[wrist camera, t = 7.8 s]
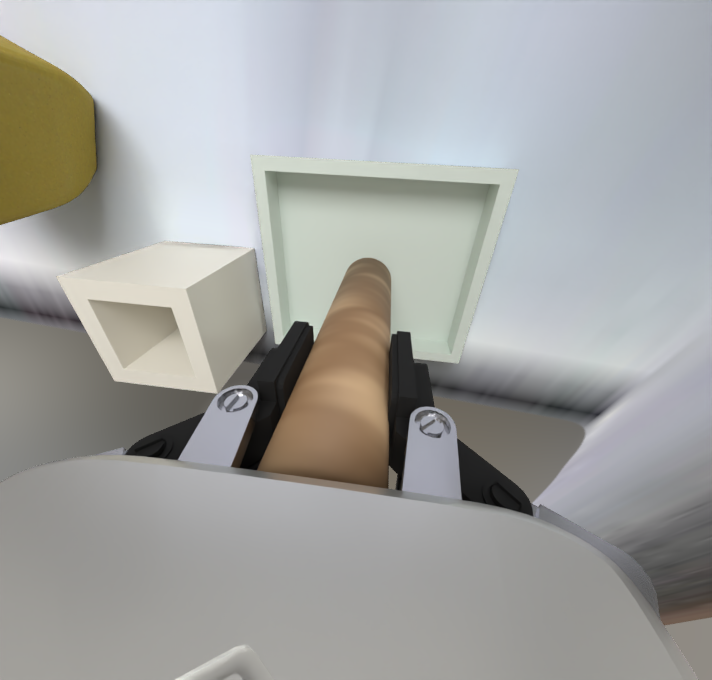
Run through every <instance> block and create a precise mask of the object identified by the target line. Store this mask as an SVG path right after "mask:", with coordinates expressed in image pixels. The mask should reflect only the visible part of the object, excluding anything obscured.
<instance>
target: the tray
mask: <svg viewBox="0 0 712 680" xmlns="http://www.w3.org/2000/svg"><path fill="white" fill-rule="evenodd" d="M250 157H251V164H252V172H253V179H254V187H255V194H256V201H257V209H258V216H259V224H260V231H261V239H262V246H263V254H264V261H265V269H266V276H267V284H268V291H269V299H270V306H271V314H272V321H273V329H274V336H275V344H281V342H282V340H283V339H284V337H285V336H286V334H287V333H288V331H289V329H290V328H291V326H292V325H293V323H294V322H295V321H302V322H308V323H309V326H313V332H314V342H315V340H316V338H317V336H318V333H319V331H320V329H321V327H322V324H323V322H324V320H325V318H326V316H327V313H328V311H329V309H330V307H331V305H332V302H333V300H334V298H335V296H336V293H337V291H338V289H339V287H340V285H341V282H342V280H343V278H344V276H345V273H346V271H347V269H348V268H349V266H350V265H351V264H352V263H353V262H355V261H356V260H358V259H361V258H374V259H377V260H379V261H381V262H382V263H383V264H384V265H385V266H386V267H387V268H388V270H389V272H390V275H391V333H390V343H391V336H392V334H397V331H404V332H410V333H411V342H412V352H413V359H422V360H431V361H440V362H450V363H459V361H460V357H461V354H462V351H463V348H464V345H465V341H466V338H467V335H468V332H469V328H470V325H471V322H472V319H473V316H474V312H475V309H476V306H477V303H478V300H479V296H480V293H481V290H482V287H483V284H484V280H485V277H486V274H487V271H488V268H489V264H490V261H491V258H492V255H493V252H494V248H495V245H496V242H497V239H498V236H499V232H500V229H501V226H502V223H503V219H504V216H505V213H506V210H507V207H508V203H509V200H510V197H511V194H512V191H513V187H514V184H515V181H516V178H517V175H518V171H519V169H501V168H483V167H465V166H446V165H428V164H410V163H392V162H374V161H355V160H337V159H319V158H301V157H283V156H264V155H250Z"/></svg>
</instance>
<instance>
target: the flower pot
mask: <svg viewBox="0 0 712 680" xmlns="http://www.w3.org/2000/svg"><path fill="white" fill-rule="evenodd" d="M96 169H97V163H96V145H95V121H94V103H93V99H92V97H91V95H90V94H89V93H88V91H87V90H86V89H85V88H84V87H83V86H82V85H81V84H80V83H78V82H77V81H76V80H75V79H74V78H72V77H71V76H70V75H68V74H67V73H65V72H64V71H62V70H61V69H59V68H57V67H56V66H54V65H52V64H50V63H49V62H47V61H45V60H43V59H41V58H39V57H38V56H36V55H34V54H32V53H30V52H29V51H27V50H25V49H23V48H22V47H20V46H18V45H16V44H14V43H13V42H11V41H9V40H7V39H6V38H4V37H2V36H0V225H2V224H5V223H8V222H12V221H15V220H18V219H22V218H25V217H28V216H31V215H34V214H38V213H41V212H44V211H47V210H50V209H53V208H56V207H59V206H61V205H64V204H66V203H68V202H70V201H71V200H73V199H74V198H76V197H77V196H79V195H80V194H81V193H82V192H83V191H84V190H85V188H86V187H87V186H88V184H89V183H90V181H91V179H92V178H93V175H94V173H95V172H96Z"/></svg>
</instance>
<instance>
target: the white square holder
mask: <svg viewBox="0 0 712 680" xmlns="http://www.w3.org/2000/svg"><path fill="white" fill-rule="evenodd" d="M56 277H57V279H58V281H59V283H60V285H61V286H62V288H63V290H64V292H65V293H66V295H67V297H68V299H69V301H70V302H71V304H72V306H73V308H74V309H75V311H76V313H77V315H78V317H79V318H80V320H81V322H82V324H83V326H84V327H85V329H86V331H87V333H88V334H89V336H90V338H91V340H92V342H93V343H94V345H95V347H96V349H97V350H98V352H99V354H100V356H101V357H102V359H103V361H104V363H105V364H106V367H107V368H108V370H109V372H110V374H111V375H112V377H113V379H114V381H120V382H127V383H135V384H144V385H152V386H160V387H169V388H176V389H184V390H193V391H200V392H209V393H217V394H218V393H219V391H220V390H221V389H222V388H223V386H224V385H225V384H226V382H227V381H228V380H229V378H230V377H231V376H232V375H233V373H234V372H235V371H236V370H237V368H238V367H239V366H240V364H241V363H242V362H243V361H244V359H245V358H246V357H247V355H248V354H249V353H250V351H251V350H252V349H253V348H254V346H255V345H256V344H257V342H258V341H259V340H260V339H261V337H262V336H263V335H264V333H265V332H266V331H267V329H266V322H265V316H264V309H263V302H262V295H261V289H260V282H259V275H258V269H257V262H256V255H255V249H254V248H246V247H233V246H221V245H209V244H196V243H184V242H172V241H163V242H159V243H156V244H153V245H150V246H147V247H144V248H141V249H138V250H135V251H132V252H129V253H126V254H123V255H120V256H117V257H114V258H111V259H108V260H105V261H102V262H99V263H96V264H93V265H90V266H87V267H84V268H81V269H78V270H75V271H71V272H68V273H65V274H62V275H59V276H56Z"/></svg>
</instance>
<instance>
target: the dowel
mask: <svg viewBox="0 0 712 680" xmlns="http://www.w3.org/2000/svg"><path fill="white" fill-rule="evenodd" d="M390 333H391V275H390V272H389V270H388V268H387V267H386V266H385V265H384V264H383V263H382V262H381V261H379V260H377V259H374V258H361V259H358V260H356V261H355V262H353V263H352V264H351V265H350V266H349V268H348V269H347V271H346V273H345V276H344V278H343V280H342V282H341V285H340V287H339V289H338V291H337V293H336V296H335V298H334V300H333V302H332V305H331V307H330V309H329V311H328V313H327V316H326V318H325V320H324V322H323V324H322V327H321V329H320V331H319V333H318V336H317V338H316V340H315V342H314V344H313V347H312V349H311V351H310V353H309V356H308V358H307V360H306V362H305V364H304V367H303V369H302V371H301V373H300V376H299V378H298V380H297V382H296V384H295V387H294V389H293V391H292V393H291V396H290V398H289V400H288V402H287V404H286V407H285V409H284V411H283V413H282V416H281V418H280V420H279V422H278V424H277V427H276V429H275V431H274V433H273V436H272V438H271V440H270V442H269V444H268V447H267V449H266V451H265V453H264V455H263V458H262V460H261V462H260V464H259V467H258V469H257V471H264V472H271V473H279V474H286V475H293V476H301V477H308V478H315V479H322V480H329V481H337V482H344V483H351V484H358V485H365V486H372V487H379V488H386V489H388V472H389V471H388V469H389V467H388V466H389V422H388V394H389V351H390Z"/></svg>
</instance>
